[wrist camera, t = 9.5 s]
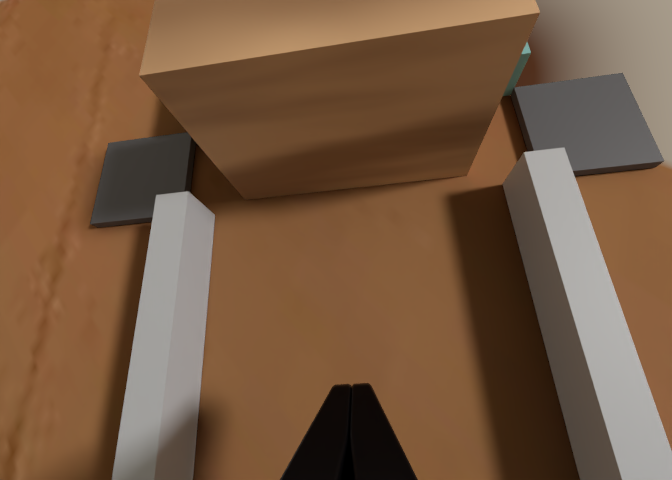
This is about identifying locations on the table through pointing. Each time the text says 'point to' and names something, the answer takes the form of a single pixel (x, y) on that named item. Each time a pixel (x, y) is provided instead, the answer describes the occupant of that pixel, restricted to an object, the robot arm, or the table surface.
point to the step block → (334, 86)
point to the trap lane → (535, 247)
